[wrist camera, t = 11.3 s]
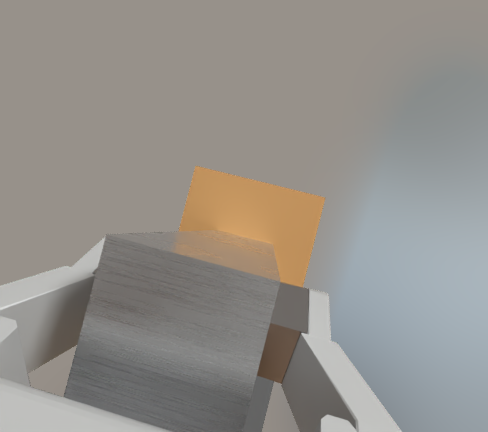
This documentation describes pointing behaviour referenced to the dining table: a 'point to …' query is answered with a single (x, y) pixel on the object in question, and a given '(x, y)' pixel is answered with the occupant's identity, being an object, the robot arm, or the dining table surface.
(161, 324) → the bar
